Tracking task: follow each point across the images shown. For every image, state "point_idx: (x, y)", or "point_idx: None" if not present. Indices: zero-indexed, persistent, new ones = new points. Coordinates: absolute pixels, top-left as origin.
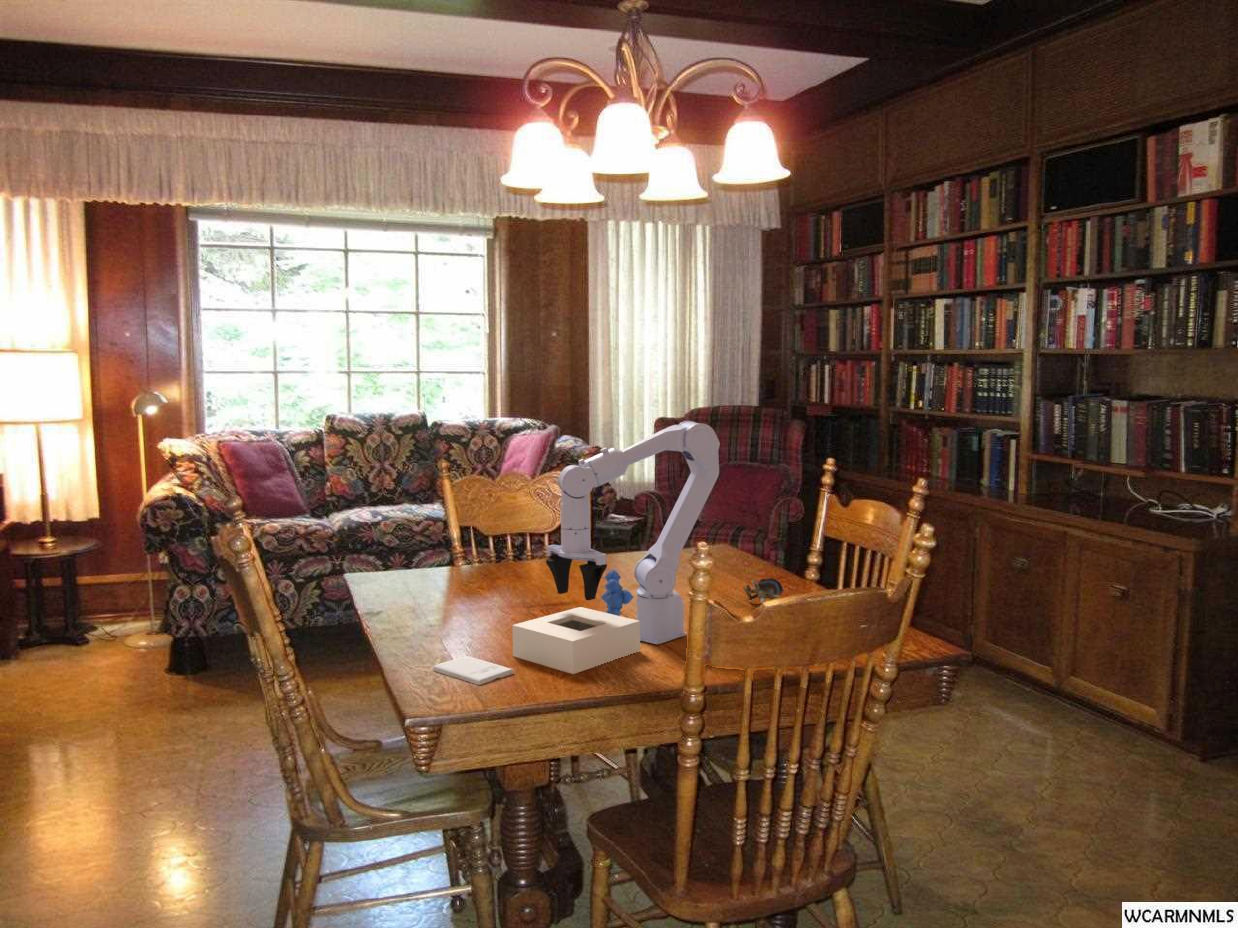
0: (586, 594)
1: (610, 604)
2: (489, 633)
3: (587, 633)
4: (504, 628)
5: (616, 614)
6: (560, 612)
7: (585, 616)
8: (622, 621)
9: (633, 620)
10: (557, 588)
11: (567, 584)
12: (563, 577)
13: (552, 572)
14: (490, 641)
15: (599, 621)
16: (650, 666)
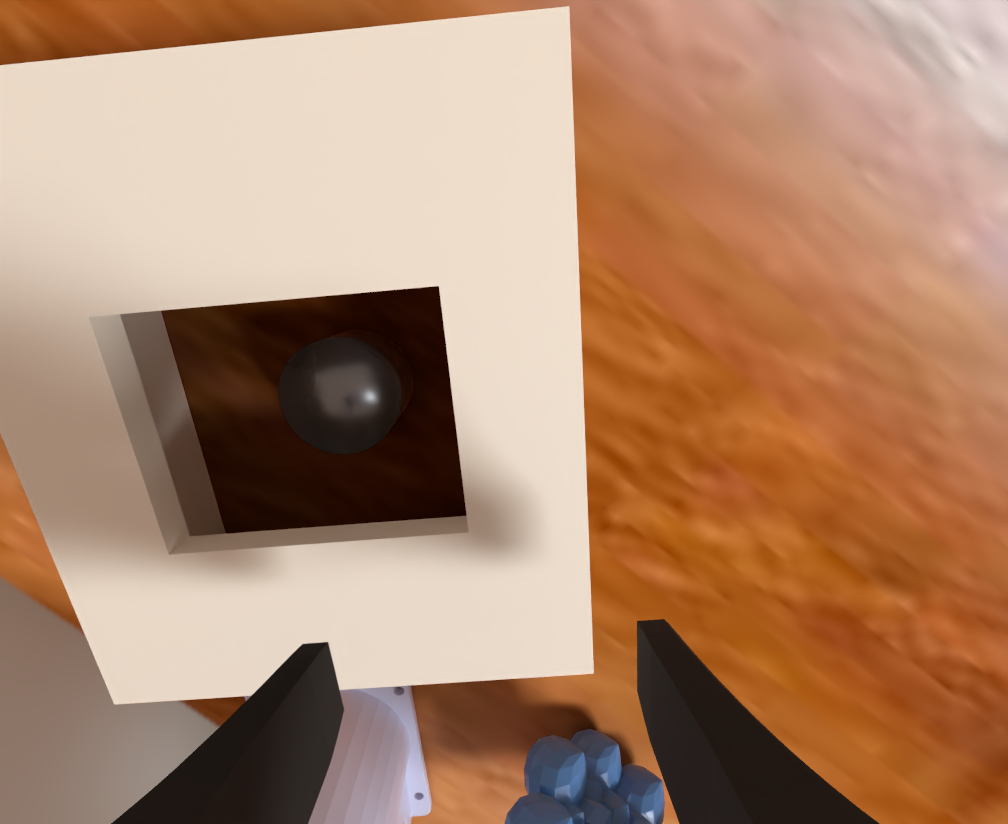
0: (274, 676)
1: (526, 802)
2: (965, 280)
3: (9, 314)
4: (956, 394)
5: (524, 769)
6: (581, 518)
7: (389, 565)
8: (155, 637)
9: (141, 687)
10: (677, 648)
11: (659, 758)
12: (701, 811)
13: (828, 800)
14: (853, 187)
15: (233, 551)
16: (19, 490)
